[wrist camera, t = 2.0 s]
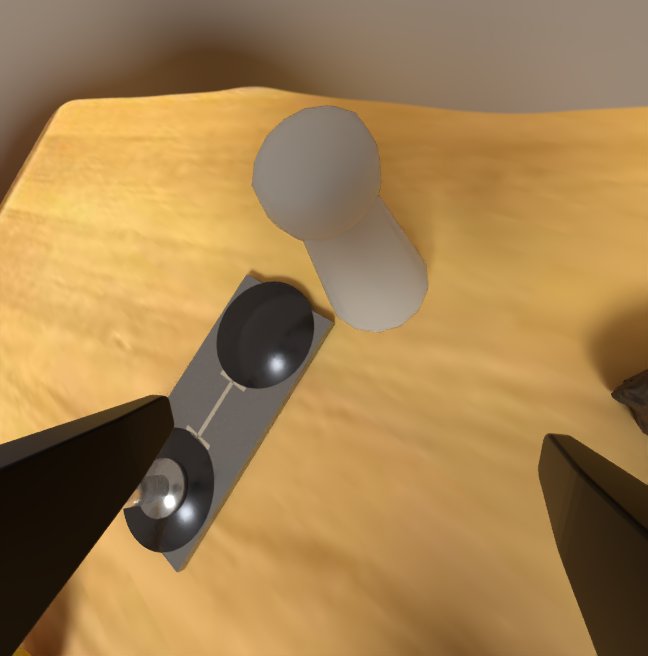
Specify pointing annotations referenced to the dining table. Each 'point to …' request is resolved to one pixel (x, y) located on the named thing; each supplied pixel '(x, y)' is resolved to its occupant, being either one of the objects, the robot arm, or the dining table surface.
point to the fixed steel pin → (161, 489)
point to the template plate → (230, 406)
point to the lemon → (21, 652)
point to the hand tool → (635, 397)
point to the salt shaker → (341, 216)
